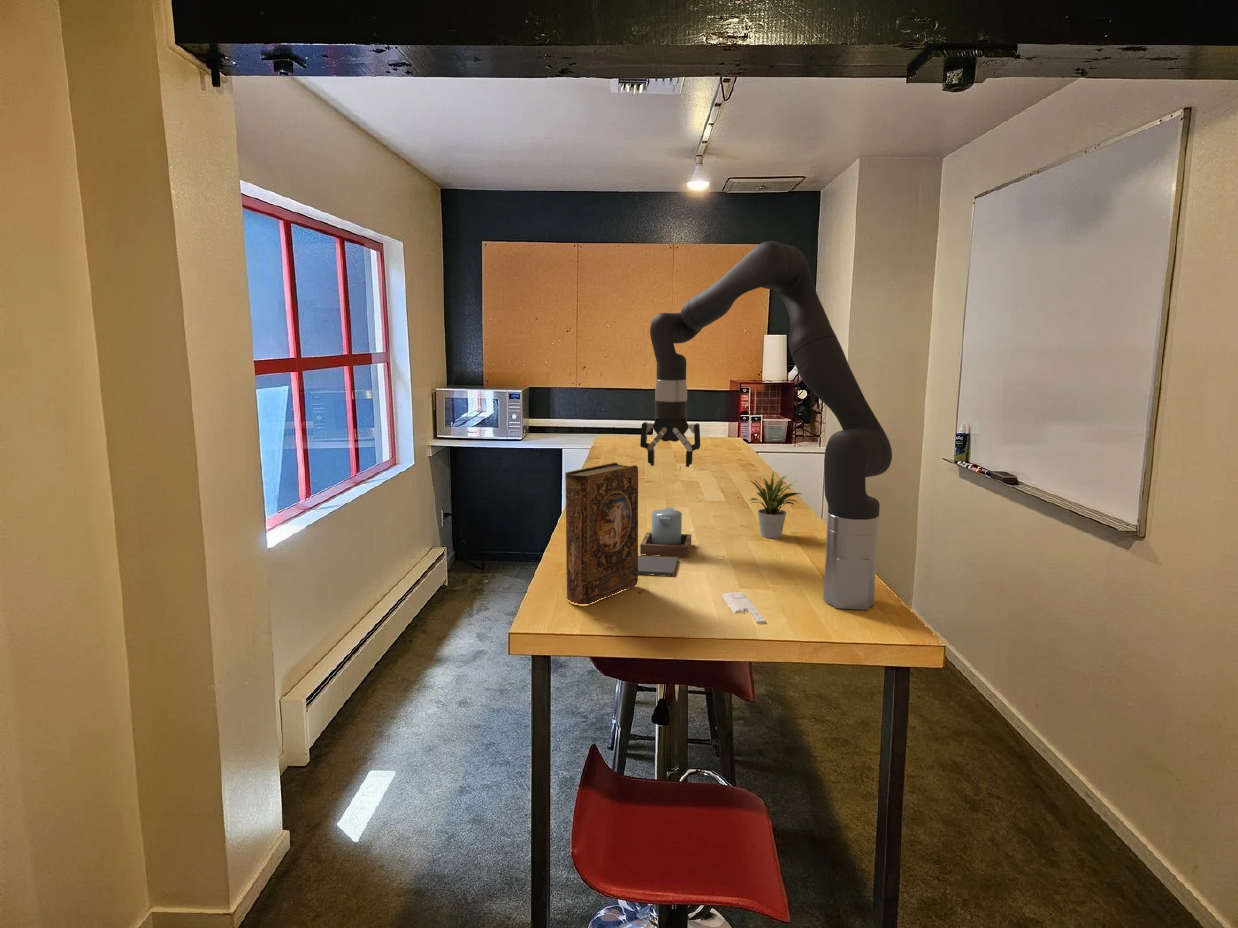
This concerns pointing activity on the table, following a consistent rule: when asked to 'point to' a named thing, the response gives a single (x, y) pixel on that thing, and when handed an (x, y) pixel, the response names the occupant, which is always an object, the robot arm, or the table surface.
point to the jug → (666, 526)
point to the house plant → (772, 508)
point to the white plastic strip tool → (742, 605)
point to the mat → (657, 565)
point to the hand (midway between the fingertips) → (670, 465)
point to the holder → (666, 547)
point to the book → (601, 531)
